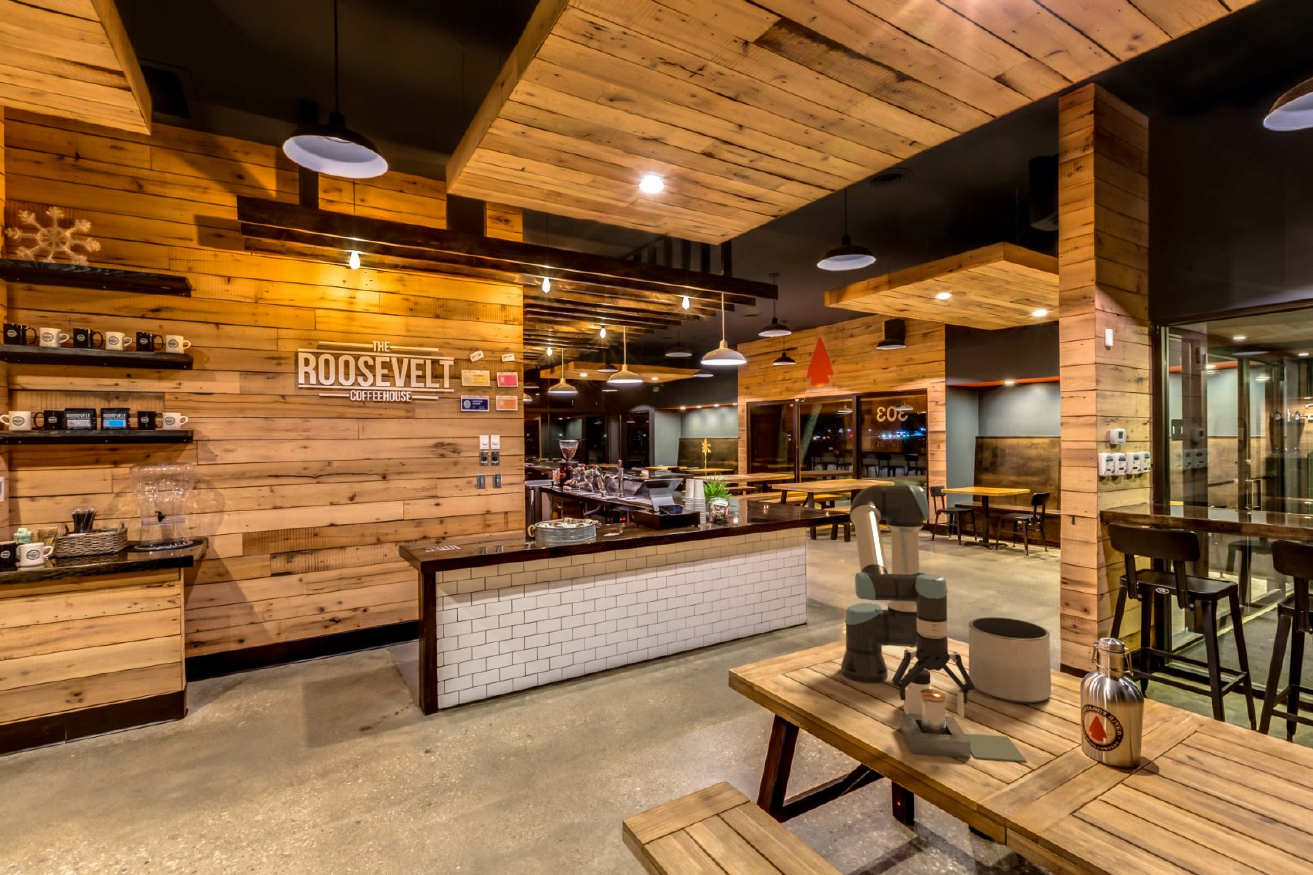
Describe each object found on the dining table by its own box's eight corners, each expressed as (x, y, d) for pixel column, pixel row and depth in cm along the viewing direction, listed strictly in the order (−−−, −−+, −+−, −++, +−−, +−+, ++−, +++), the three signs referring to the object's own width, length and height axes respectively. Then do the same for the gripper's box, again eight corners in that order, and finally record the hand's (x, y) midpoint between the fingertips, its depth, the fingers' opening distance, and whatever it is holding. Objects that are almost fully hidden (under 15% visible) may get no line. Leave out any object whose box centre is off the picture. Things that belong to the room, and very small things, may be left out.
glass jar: (918, 735, 164) (918, 688, 164) (942, 737, 163) (941, 689, 163) (924, 747, 158) (923, 697, 158) (948, 748, 157) (948, 699, 157)
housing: (900, 727, 168) (899, 713, 168) (953, 730, 166) (953, 716, 166) (912, 753, 155) (911, 738, 155) (970, 758, 152) (970, 742, 152)
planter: (1005, 671, 205) (1004, 613, 205) (1069, 699, 184) (1068, 634, 184) (952, 681, 198) (952, 621, 198) (1013, 711, 177) (1012, 643, 176)
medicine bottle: (935, 716, 175) (934, 675, 174) (909, 714, 176) (908, 673, 176) (929, 705, 182) (928, 665, 181) (904, 703, 183) (903, 664, 183)
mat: (959, 734, 164) (959, 733, 164) (1007, 738, 162) (1007, 736, 162) (974, 758, 152) (974, 756, 152) (1026, 762, 150) (1026, 760, 150)
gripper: (885, 636, 159) (886, 717, 159) (987, 641, 154) (988, 723, 154) (880, 627, 166) (881, 704, 166) (977, 631, 161) (978, 710, 161)
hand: (933, 713), depth 160 cm, fingers open, 13 cm apart
